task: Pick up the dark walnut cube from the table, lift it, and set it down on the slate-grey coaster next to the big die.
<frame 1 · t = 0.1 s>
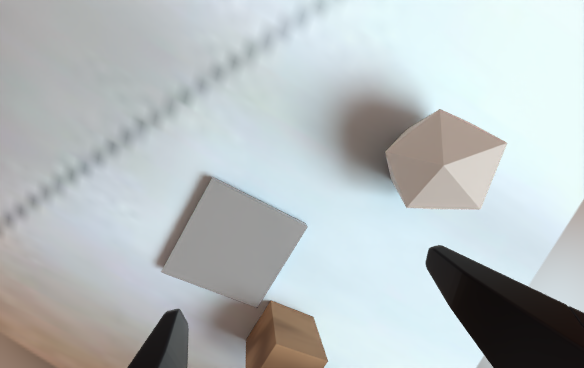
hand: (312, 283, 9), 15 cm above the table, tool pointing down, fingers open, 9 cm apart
coaster: (236, 244, 25), on the table
die: (410, 157, 26), on the table
walnut cube: (279, 327, 28), on the table
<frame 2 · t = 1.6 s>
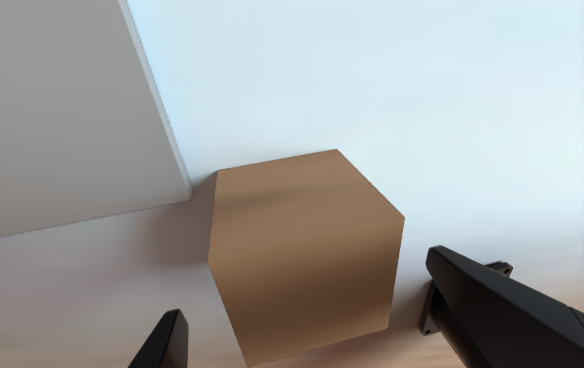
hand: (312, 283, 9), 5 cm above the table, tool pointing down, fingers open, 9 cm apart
walnut cube: (285, 207, 13), on the table
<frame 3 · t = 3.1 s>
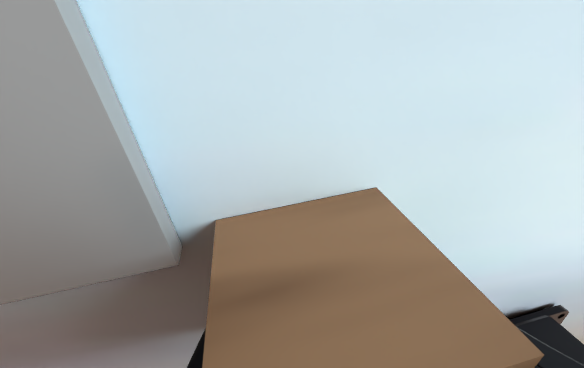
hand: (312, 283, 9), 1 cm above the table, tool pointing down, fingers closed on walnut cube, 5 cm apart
walnut cube: (305, 261, 10), on the table, touching gripper
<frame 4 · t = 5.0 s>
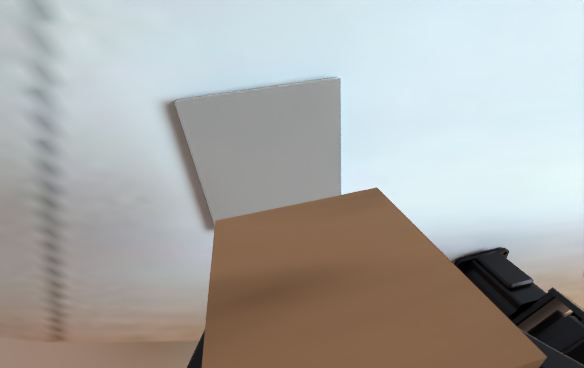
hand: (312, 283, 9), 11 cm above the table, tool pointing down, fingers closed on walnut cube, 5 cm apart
coaster: (270, 160, 18), on the table
walnut cube: (305, 262, 10), point 10 cm above the table, touching gripper
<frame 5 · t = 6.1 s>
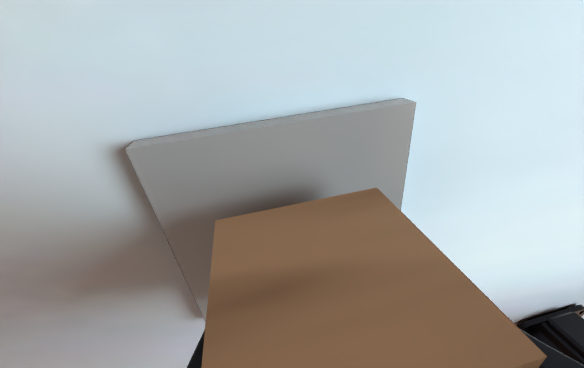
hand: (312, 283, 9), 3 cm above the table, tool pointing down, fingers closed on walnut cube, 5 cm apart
coaster: (291, 224, 12), on the table
walnut cube: (305, 261, 10), point 2 cm above the table, touching gripper
when the fingers open (3 cm above the table, at t = 6.9 s): walnut cube drops 1 cm, resting on coaster.
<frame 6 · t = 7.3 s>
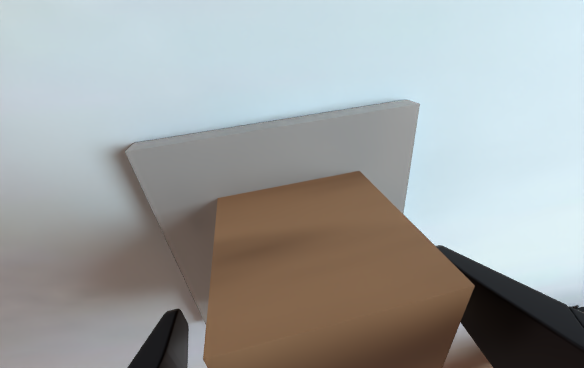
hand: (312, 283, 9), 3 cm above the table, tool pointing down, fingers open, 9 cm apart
coaster: (293, 227, 12), on the table
walnut cube: (297, 238, 11), point 1 cm above the table, touching coaster
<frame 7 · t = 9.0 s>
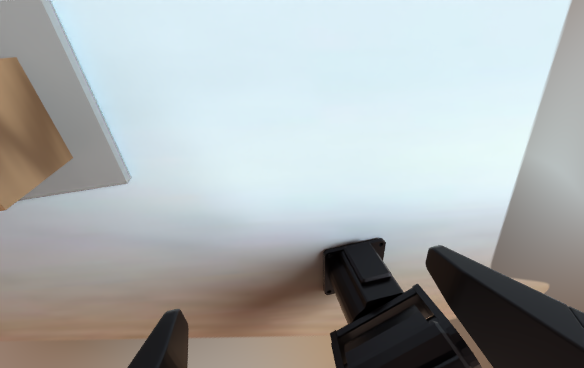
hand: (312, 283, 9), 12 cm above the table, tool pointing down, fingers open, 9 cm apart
coaster: (0, 115, 14), on the table
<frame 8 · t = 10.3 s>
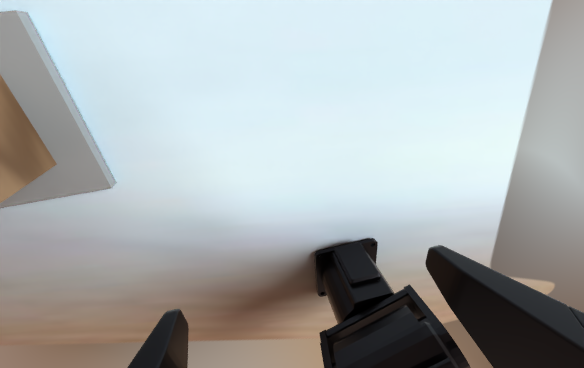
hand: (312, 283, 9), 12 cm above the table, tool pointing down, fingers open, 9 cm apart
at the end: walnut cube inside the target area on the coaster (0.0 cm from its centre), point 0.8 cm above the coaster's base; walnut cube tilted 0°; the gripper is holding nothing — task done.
